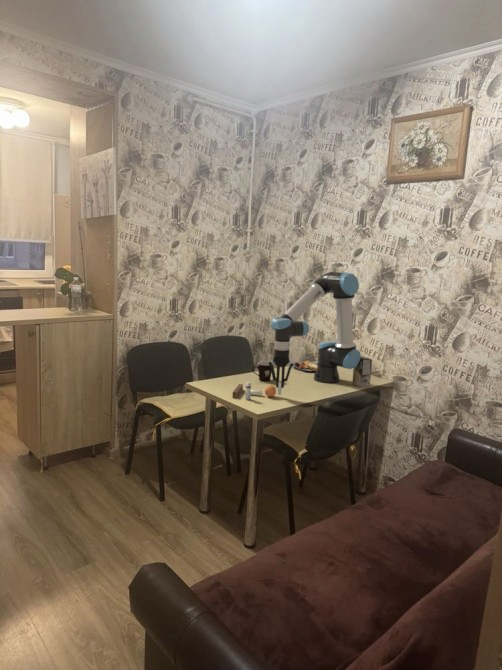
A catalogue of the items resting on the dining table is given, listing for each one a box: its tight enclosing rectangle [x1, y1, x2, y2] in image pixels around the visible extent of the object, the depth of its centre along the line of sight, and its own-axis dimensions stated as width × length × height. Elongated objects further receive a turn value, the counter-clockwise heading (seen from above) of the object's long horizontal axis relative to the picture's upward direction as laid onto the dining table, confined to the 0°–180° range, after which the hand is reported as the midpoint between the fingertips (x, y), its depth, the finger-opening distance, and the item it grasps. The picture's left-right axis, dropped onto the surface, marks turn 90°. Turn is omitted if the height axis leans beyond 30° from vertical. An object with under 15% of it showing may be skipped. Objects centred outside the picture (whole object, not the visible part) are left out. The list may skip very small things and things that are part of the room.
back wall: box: [232, 383, 244, 399], centre depth 243 cm, size 2×16×3 cm, turn 170°
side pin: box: [245, 381, 252, 401], centre depth 233 cm, size 2×2×8 cm
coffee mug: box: [251, 361, 272, 383], centre depth 271 cm, size 12×9×10 cm
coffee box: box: [352, 355, 373, 388], centre depth 268 cm, size 9×6×16 cm
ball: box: [264, 384, 277, 398], centre depth 239 cm, size 6×6×6 cm
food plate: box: [292, 359, 318, 372], centre depth 306 cm, size 25×23×4 cm
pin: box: [244, 389, 263, 397], centre depth 242 cm, size 2×2×8 cm
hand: (279, 393), depth 239 cm, fingers closed
